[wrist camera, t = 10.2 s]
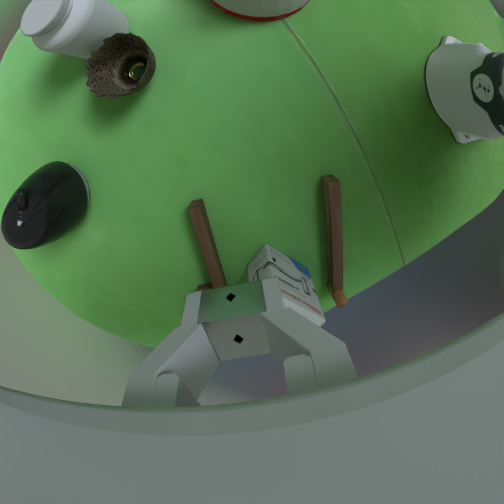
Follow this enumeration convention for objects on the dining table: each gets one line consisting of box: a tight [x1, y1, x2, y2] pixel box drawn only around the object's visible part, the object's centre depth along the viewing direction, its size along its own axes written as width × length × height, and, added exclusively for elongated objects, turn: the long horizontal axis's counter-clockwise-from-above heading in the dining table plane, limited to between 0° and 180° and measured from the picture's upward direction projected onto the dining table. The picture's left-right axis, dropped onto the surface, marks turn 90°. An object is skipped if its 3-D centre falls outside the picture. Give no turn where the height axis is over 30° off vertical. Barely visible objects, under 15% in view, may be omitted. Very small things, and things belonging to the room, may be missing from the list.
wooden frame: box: [188, 175, 347, 307], centre depth 36 cm, size 22×19×7 cm
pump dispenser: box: [1, 161, 90, 249], centre depth 26 cm, size 10×10×15 cm
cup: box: [84, 32, 156, 98], centre depth 22 cm, size 8×7×8 cm
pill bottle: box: [21, 0, 129, 59], centre depth 15 cm, size 8×8×15 cm
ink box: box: [247, 244, 326, 327], centre depth 36 cm, size 9×5×12 cm, turn 54°
